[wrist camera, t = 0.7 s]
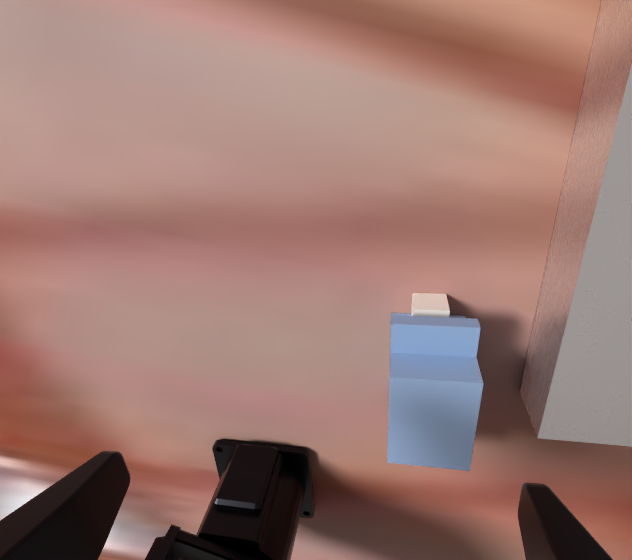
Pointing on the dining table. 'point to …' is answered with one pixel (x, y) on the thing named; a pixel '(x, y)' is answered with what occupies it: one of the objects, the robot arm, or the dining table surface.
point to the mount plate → (590, 262)
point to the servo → (433, 385)
